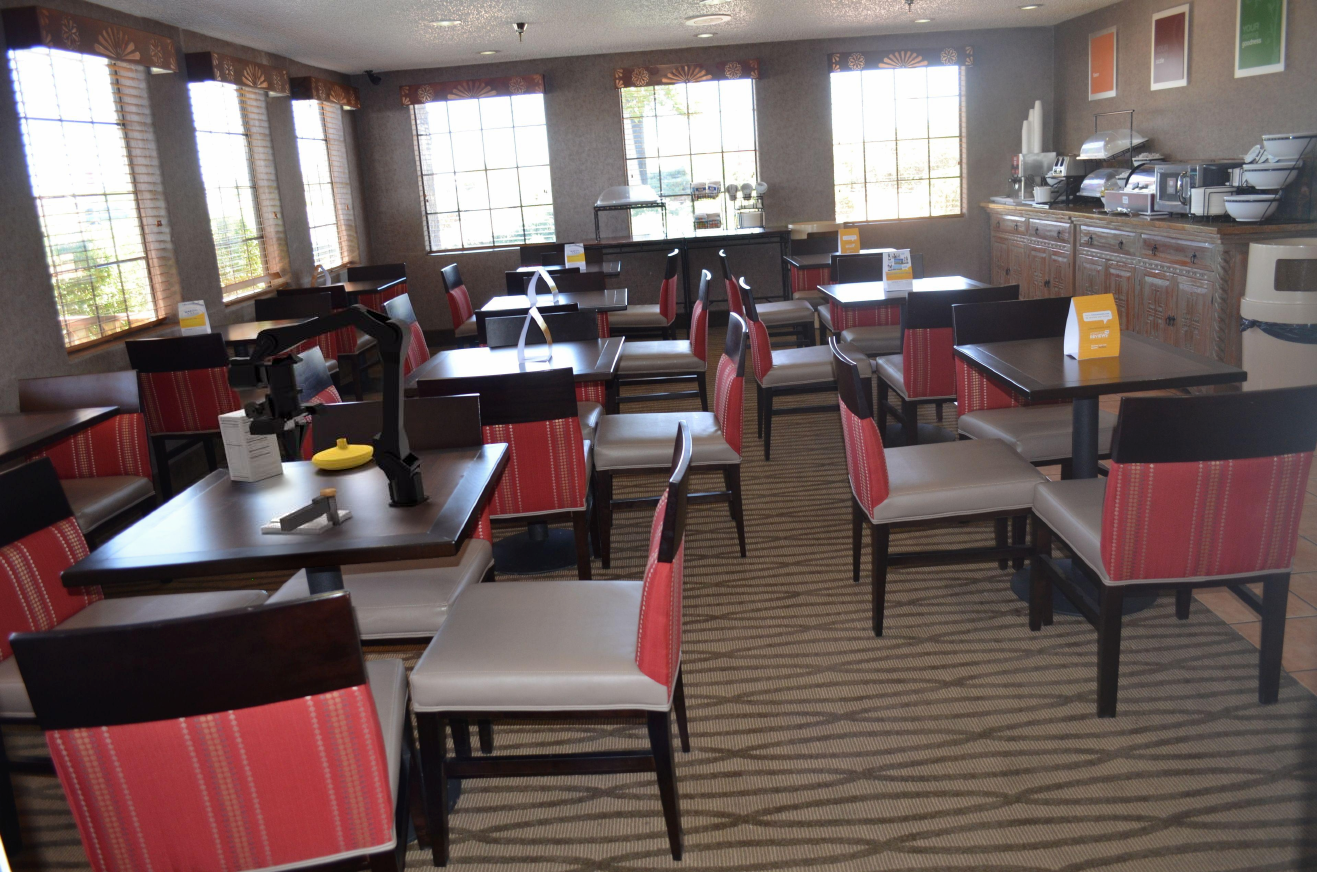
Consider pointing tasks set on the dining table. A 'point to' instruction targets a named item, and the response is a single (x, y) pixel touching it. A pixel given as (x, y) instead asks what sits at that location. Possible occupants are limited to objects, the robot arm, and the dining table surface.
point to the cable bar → (308, 511)
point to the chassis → (315, 525)
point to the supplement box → (248, 449)
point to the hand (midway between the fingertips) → (296, 457)
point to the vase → (343, 456)
